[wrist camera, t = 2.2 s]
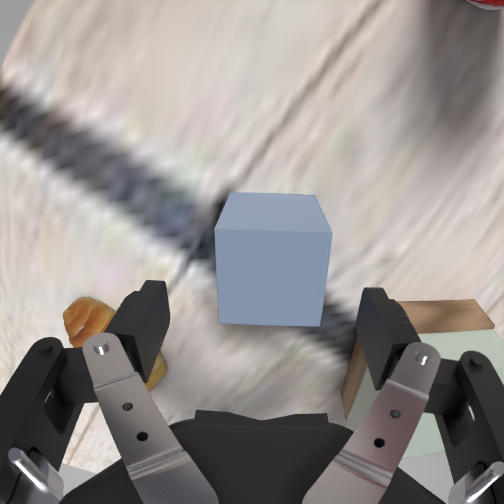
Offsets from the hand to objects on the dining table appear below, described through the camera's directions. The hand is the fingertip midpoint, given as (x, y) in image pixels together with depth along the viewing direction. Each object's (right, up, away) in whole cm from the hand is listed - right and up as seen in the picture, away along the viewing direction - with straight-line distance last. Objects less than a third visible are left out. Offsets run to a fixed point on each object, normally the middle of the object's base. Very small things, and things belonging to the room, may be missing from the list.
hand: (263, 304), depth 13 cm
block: (+1, +3, +7) cm, 8 cm away
